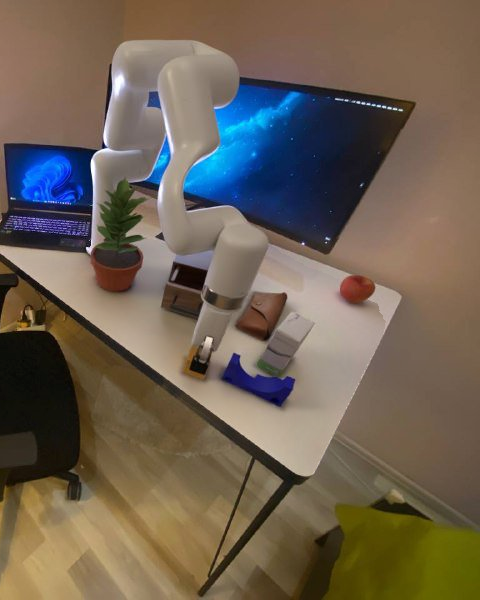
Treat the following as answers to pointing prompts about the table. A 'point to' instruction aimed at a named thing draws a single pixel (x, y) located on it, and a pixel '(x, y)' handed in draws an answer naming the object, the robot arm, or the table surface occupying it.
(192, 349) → the block
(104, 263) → the potted plant
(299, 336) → the ink box
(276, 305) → the sunglasses case
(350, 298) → the apple
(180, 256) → the cabinet
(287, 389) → the blue cradle holder
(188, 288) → the drawer
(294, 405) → the table surface
